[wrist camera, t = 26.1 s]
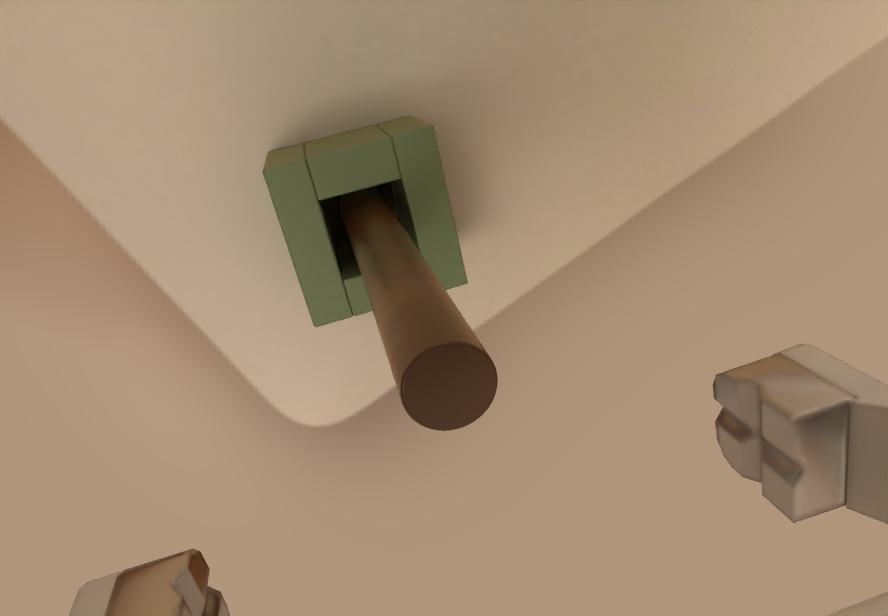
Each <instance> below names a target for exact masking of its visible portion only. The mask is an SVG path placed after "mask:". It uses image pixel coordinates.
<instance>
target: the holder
mask: <svg viewBox="0 0 888 616" xmlns="http://www.w3.org/2000/svg"><path fill="white" fill-rule="evenodd" d="M263 174H264V177H265V180H266V183H267V186H268V189H269V192H270V195H271V198H272V201H273V204H274V207H275V210H276V213H277V216H278V219H279V222H280V225H281V228H282V231H283V234H284V237H285V240H286V243H287V246H288V249H289V252H290V256H291V259H292V262H293V265H294V268H295V271H296V274H297V277H298V280H299V283H300V286H301V289H302V292H303V295H304V298H305V301H306V304H307V307H308V310H309V313H310V316H311V319H312V322H313V325H314V326H315V327H318V326H322V325H325V324H328V323H332V322H335V321H339V320H342V319H346V318H349V317H352V316H353V315H354V316H357V315H360V314H363V313H367V312H370V311H373V310H372V307H371V304H370V301H369V297H368V294H367V291H366V288H365V285H364V282H363V279H362V276H361V272H360V269H359V266H358V263H357V260H356V257H355V254H354V250H353V247H352V244H351V243H348V244H345V245H341V246H338V247H336V248H335V245H334V242H333V239H332V235H331V232H330V229H329V225H328V222H327V219H326V215H325V212H324V209H323V205H322V202H321V200H324V199H328V198H331V197H335V196H339V195H343V194H346V193H350V192H354V191H358V190H361V189H365V188H369V187H373V186H376V185H380V184H384V183H387V182H390V183H391V186H392V190H393V194H394V198H395V202H396V206H397V210H398V214H399V218H400V222H401V224H402V226H403V227H404V229H405V230H406V232H407V233H408V235H409V236H410V238H411V239H412V241H413V242H414V244H415V245H416V247H417V248H418V250H419V251H420V253H421V254H422V256H423V257H424V259H425V260H426V262H427V263H428V265H429V266H430V268H431V269H432V271H433V272H434V274H435V275H436V277H437V278H438V280H439V281H440V283H441V284H442V286H443V287H444V289H445V290H447V289H450V288H454V287H457V286H461V285H464V284H467V283H468V282H467V277H466V273H465V268H464V264H463V259H462V255H461V250H460V246H459V241H458V236H457V232H456V227H455V223H454V218H453V214H452V209H451V205H450V200H449V196H448V191H447V187H446V182H445V178H444V173H443V169H442V164H441V160H440V155H439V151H438V146H437V142H436V137H435V133H434V128H433V126H431V125H429V124H427V123H425V122H423V121H421V120H419V119H416V118H414V117H412V116H406V117H402V118H398V119H395V120H391V121H387V122H383V123H379V124H376V125H371V126H368V127H364V128H360V129H356V130H352V131H348V132H344V133H340V134H336V135H333V136H329V137H325V138H321V139H317V140H313V141H309V142H306V143H304V144H298V145H294V146H290V147H286V148H282V149H278V150H274V151H270V152H268V154H267V157H266V161H265V165H264V168H263Z"/></svg>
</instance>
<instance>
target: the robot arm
mask: <svg viewBox="0 0 888 616" xmlns="http://www.w3.org/2000/svg"><path fill="white" fill-rule="evenodd" d="M713 392H714V399H715V400H716V401H718V402H719V403H720V404H721V405H722V406H723V408H722V410H721V412H720V414H719V416H718V417H717V419H716V421H715V424H716V434H717V440H718V443H719V445H720V448H721V450H722V453H723V455H724V457H725V458H726V459H727V461H728V462H729V464H730V465H731V467H732V468H734V469H735V470H736V471H737V472H738V473H739V474H740V475H741V476H742V477H744V478H747V479H751V480H754V481H757V482H761V483H762V495H763V496H764V497H765V498H767V500H769V501H770V502H771V503H772V504H773V505H774V506H775V507H776V508H778V509H779V510H780V511H781V512H782V513H783V514H784V515H786V516H787V517H788V518H789V519H790V520H791V521H792V522H793V523H795V522H798V521H801V520H804V519H807V518H810V517H813V516H815V515H818V514H821V513H824V512H827V511H830V510H833V509H836V508H839V507H842V506H845V505H847V507H846V508H848V509H850V510H853V511H856V512H858V513H861V514H863V515H866V516H868V517H871V518H874V519H876V520H879V521H881V522H884V523H887V524H888V385H886V384H884V383H882V382H881V381H879V380H876V379H875V378H873V377H871V376H869V375H867V374H865V373H863V372H861V371H860V370H858V369H856V368H854V367H852V366H850V365H848V364H847V363H845V362H843V361H841V360H839V359H837V358H835V357H833V356H831V355H830V354H828V353H826V352H824V351H822V350H820V349H818V348H816V347H814V346H813V345H807V344H800V345H797V346H794V347H791V348H789V349H786V350H783V351H781V352H778V353H775V354H773V355H772V356H770V357H767V358H764V359H761V360H758V361H755V362H752V363H749V364H746V365H743V366H740V367H737V368H734V369H731V370H729V371H726V372H723V373H720V374H717V375H716V377H715V380H714V383H713ZM208 577H209V567H208V565H207V563H206V562H205V560H204V558H203V556H202V554H201V552H200V551H197V550H195V549H190V550H187V551H184V552H181V553H178V554H174V555H171V556H168V557H165V558H162V559H158V560H155V561H152V562H149V563H145V564H142V565H139V566H136V567H133V568H129V569H126V570H124V571H123V572H117V573H114V574H111V575H108V576H105V577H102V578H99V579H96V580H93V581H90V582H87V583H86V584H85V585H84V586H82V587H81V588H80V589H79V591H78V593H77V596H76V598H75V601H74V603H73V606H72V609H71V611H70V614H69V616H230V614H229V611H228V608H227V604H226V602H225V600H224V598H223V596H222V594H221V592H220V591H218V590H215V589H213V588H211V587H209V586H207V583H208ZM827 616H888V591H887V592H885V593H883V594H880V595H877V596H875V597H872V598H870V599H867V600H865V601H862V602H860V603H857V604H855V605H852V606H850V607H847V608H845V609H842V610H840V611H837V612H835V613H832V614H830V615H827Z"/></svg>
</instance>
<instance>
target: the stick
mask: <svg viewBox="0 0 888 616" xmlns="http://www.w3.org/2000/svg"><path fill="white" fill-rule="evenodd" d="M340 209H341V213H342V216H343V219H344V222H345V225H346V229H347V232H348V235H349V238H350V241H351V244H352V247H353V250H354V254H355V257H356V260H357V263H358V266H359V269H360V272H361V276H362V279H363V282H364V285H365V288H366V291H367V294H368V297H369V301H370V304H371V307H372V310H373V313H374V316H375V319H376V323H377V326H378V329H379V332H380V335H381V338H382V341H383V344H384V348H385V351H386V354H387V357H388V360H389V363H390V366H391V370H392V373H393V376H394V379H395V382H396V385H397V388H398V391H399V395H400V398H401V401H402V404H403V406H404V408H405V410H406V412H407V413H408V414H409V416H410V417H411V418H412V419H413V420H415V421H416V422H417V423H419V424H420V425H422V426H425V427H427V428H430V429H434V430H443V431H446V430H454V429H458V428H462V427H464V426H467V425H469V424H470V423H472V422H474V421H475V420H477V419H478V418H479V417H480V416H481V415H483V413H485V411H486V410H487V409H488V408H489V406H490V404H491V403H492V401H493V399H494V396H495V393H496V389H497V372H496V368H495V366H494V363H493V361H492V360H491V358H490V357H489V355H488V354H487V352H486V351H485V349H484V348H483V346H482V345H481V343H480V342H479V340H478V339H477V337H476V336H475V334H474V332H473V331H472V329H471V328H470V326H469V325H468V323H467V322H466V320H465V319H464V317H463V316H462V314H461V313H460V311H459V310H458V308H457V307H456V305H455V304H454V302H453V301H452V299H451V298H450V296H449V295H448V293H447V292H446V290H445V289H444V287H443V286H442V284H441V283H440V281H439V280H438V278H437V277H436V275H435V274H434V272H433V271H432V269H431V268H430V266H429V265H428V263H427V262H426V260H425V259H424V257H423V256H422V254H421V253H420V251H419V250H418V248H417V247H416V245H415V244H414V242H413V241H412V239H411V238H410V236H409V235H408V233H407V232H406V230H405V229H404V227H403V226H402V224H401V223H400V221H399V219H398V218H397V216H396V215H395V213H394V212H393V210H392V209H391V207H390V206H389V204H388V203H387V201H386V200H385V198H384V197H383V195H382V194H381V192H380V191H379V190H378V189H377V188H376V187H374V186H373V187H369V188H365V189H361V190H358V191H354V192H350V193H346V194H343V195H342V197H341V201H340Z"/></svg>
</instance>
